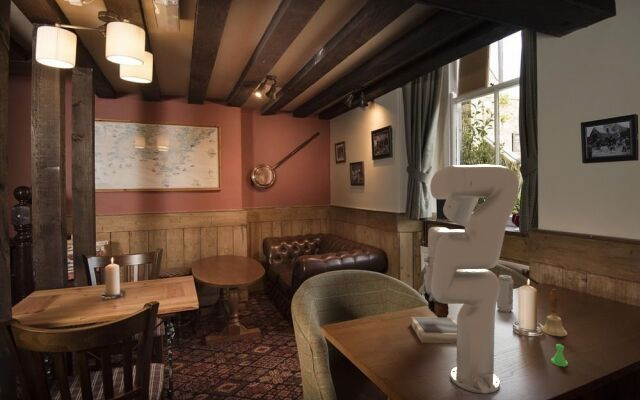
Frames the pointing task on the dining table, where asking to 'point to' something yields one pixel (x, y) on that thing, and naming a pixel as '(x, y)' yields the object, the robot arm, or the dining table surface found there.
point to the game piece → (559, 357)
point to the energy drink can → (505, 293)
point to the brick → (440, 309)
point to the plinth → (435, 329)
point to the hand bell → (554, 318)
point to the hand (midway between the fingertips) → (438, 310)
